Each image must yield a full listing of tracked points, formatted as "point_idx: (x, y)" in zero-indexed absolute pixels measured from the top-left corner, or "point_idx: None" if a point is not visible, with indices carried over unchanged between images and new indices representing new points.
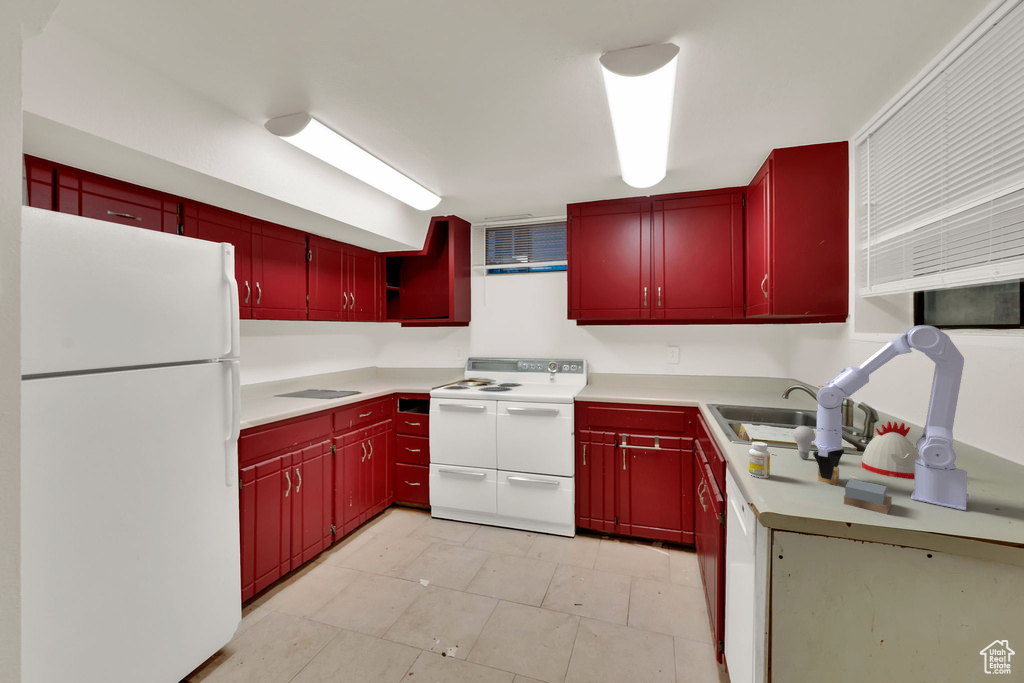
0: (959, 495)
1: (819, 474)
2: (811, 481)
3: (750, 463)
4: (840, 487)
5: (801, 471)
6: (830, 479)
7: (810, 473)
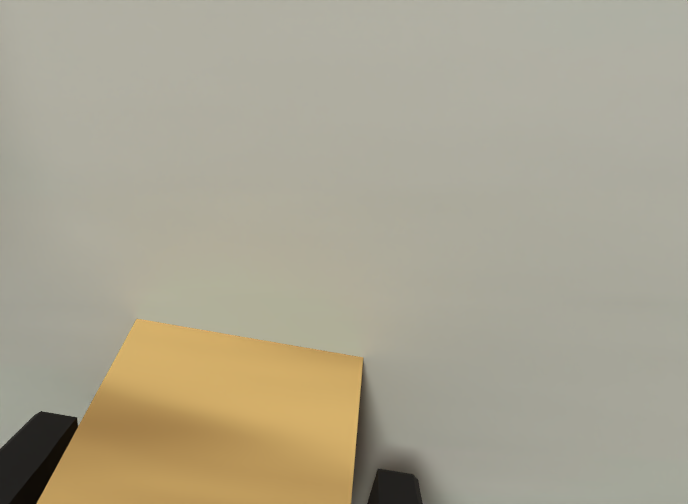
0: None
1: (95, 415)
2: (28, 243)
3: None
4: None
5: (576, 80)
6: None
7: (511, 228)
